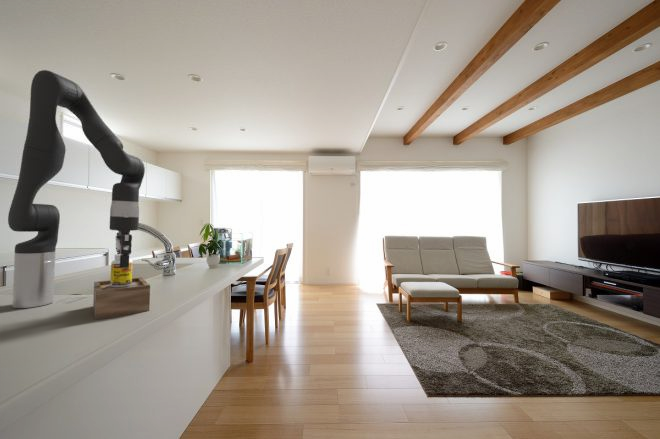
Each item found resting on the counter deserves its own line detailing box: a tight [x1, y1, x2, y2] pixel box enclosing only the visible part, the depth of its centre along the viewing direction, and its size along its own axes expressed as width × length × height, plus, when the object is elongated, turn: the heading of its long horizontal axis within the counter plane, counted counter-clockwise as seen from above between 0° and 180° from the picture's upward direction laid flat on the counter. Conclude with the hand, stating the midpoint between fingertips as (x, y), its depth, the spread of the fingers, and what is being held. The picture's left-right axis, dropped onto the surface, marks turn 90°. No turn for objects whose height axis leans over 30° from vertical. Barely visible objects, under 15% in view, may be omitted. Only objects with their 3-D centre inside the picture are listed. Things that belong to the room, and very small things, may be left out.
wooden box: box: [92, 277, 151, 320], centre depth 88 cm, size 16×13×8 cm
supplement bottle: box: [110, 253, 134, 288], centre depth 88 cm, size 6×6×10 cm
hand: (122, 265), depth 89 cm, fingers open, 8 cm apart
